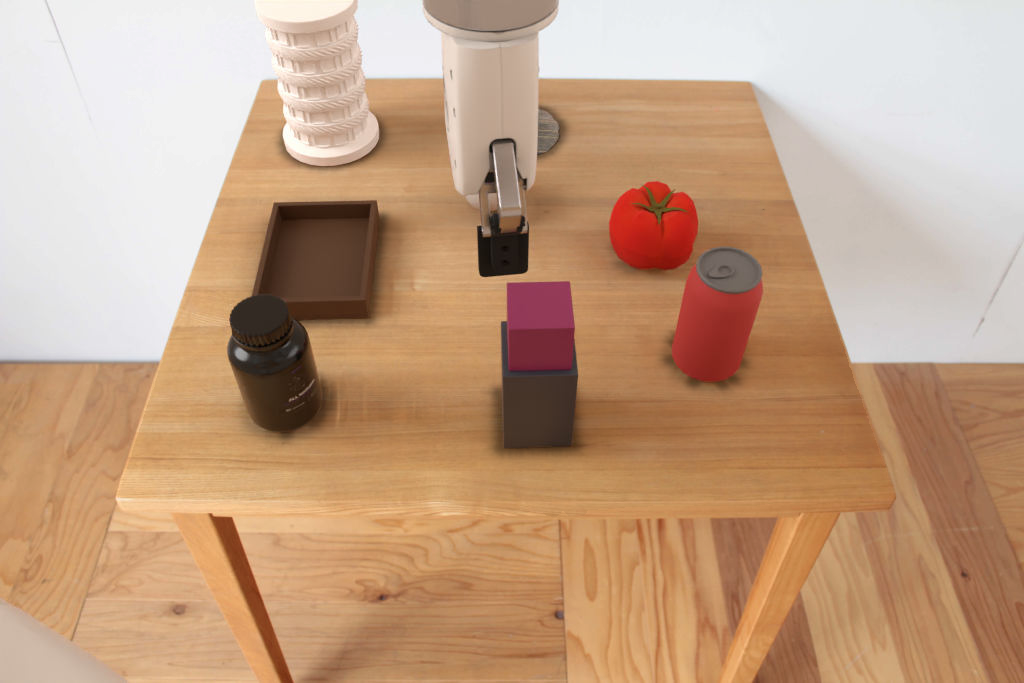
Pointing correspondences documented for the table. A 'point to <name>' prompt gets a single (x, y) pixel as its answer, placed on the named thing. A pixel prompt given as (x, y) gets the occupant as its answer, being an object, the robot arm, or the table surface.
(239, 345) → the supplement bottle
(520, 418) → the bottom block
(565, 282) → the top block
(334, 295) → the tray
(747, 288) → the beer can
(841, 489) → the table surface
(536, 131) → the robot arm
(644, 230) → the tomato
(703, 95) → the table surface
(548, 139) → the sculpture
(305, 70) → the white tower model
